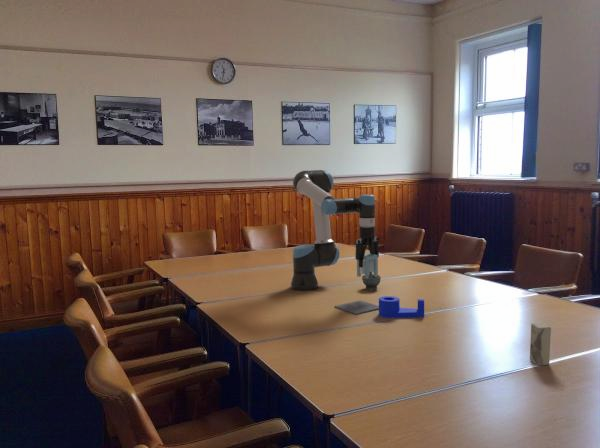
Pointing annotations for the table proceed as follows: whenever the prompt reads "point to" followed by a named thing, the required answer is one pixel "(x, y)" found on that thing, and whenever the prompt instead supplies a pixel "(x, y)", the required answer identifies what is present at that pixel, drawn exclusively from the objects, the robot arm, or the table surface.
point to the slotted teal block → (368, 265)
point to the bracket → (398, 308)
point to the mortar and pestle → (371, 281)
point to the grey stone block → (540, 343)
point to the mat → (358, 307)
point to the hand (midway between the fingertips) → (367, 272)
